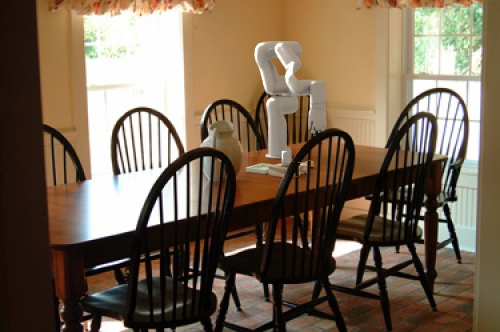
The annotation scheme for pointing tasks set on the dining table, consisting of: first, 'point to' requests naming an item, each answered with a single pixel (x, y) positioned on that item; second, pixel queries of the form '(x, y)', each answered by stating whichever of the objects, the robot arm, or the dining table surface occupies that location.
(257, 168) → the rack tray
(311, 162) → the drift key
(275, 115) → the robot arm
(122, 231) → the dining table surface
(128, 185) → the dining table surface
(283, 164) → the white upright block
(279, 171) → the crumpled beige cloth
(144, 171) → the dining table surface
